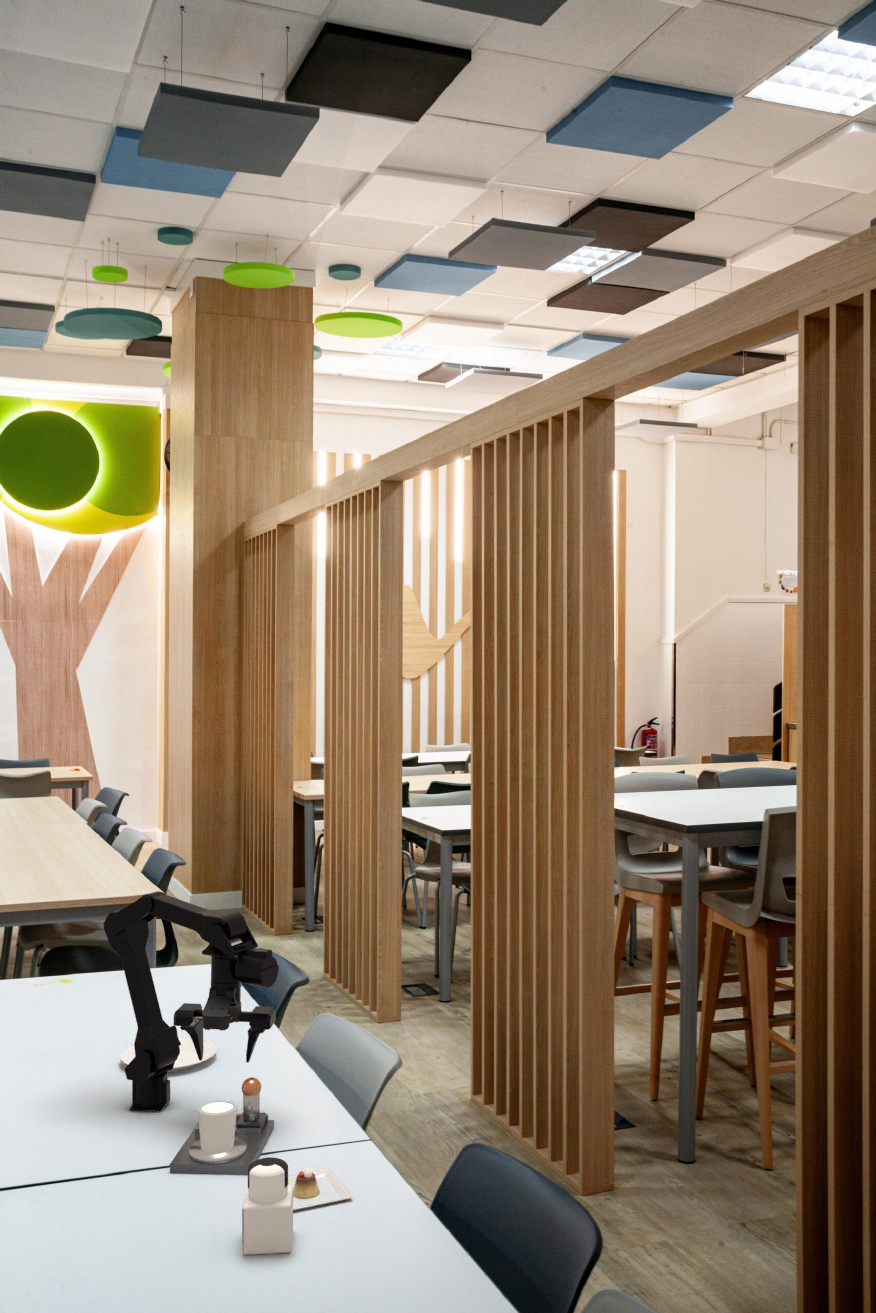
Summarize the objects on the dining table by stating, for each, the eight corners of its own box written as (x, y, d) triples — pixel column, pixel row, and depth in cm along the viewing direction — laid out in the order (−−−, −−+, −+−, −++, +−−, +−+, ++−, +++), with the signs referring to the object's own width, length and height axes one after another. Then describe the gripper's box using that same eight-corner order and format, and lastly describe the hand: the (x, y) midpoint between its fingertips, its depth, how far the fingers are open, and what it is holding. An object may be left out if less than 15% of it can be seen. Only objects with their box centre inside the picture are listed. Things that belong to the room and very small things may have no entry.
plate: (100, 1071, 246) (100, 1061, 246) (158, 1042, 265) (158, 1033, 266) (181, 1084, 238) (181, 1073, 238) (234, 1053, 258) (234, 1043, 258)
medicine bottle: (246, 1232, 174) (246, 1153, 174) (293, 1229, 175) (292, 1151, 175) (242, 1255, 167) (241, 1173, 167) (291, 1253, 167) (290, 1171, 168)
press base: (169, 1172, 195) (169, 1157, 195) (200, 1126, 215) (200, 1112, 215) (250, 1174, 194) (250, 1158, 194) (273, 1127, 214) (273, 1113, 214)
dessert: (261, 1188, 190) (260, 1159, 190) (329, 1174, 195) (329, 1146, 195) (280, 1219, 179) (280, 1188, 179) (352, 1204, 184) (352, 1174, 184)
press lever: (236, 1131, 208) (236, 1082, 208) (242, 1121, 213) (242, 1073, 213) (260, 1131, 208) (260, 1082, 208) (266, 1121, 213) (265, 1073, 213)
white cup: (228, 1156, 196) (228, 1115, 196) (191, 1153, 197) (191, 1112, 198) (242, 1140, 203) (243, 1101, 203) (206, 1137, 204) (207, 1098, 204)
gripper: (165, 989, 211) (163, 1073, 210) (264, 993, 209) (262, 1078, 209) (183, 973, 222) (181, 1053, 222) (277, 977, 220) (275, 1057, 220)
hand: (224, 1060), depth 218 cm, fingers open, 9 cm apart
